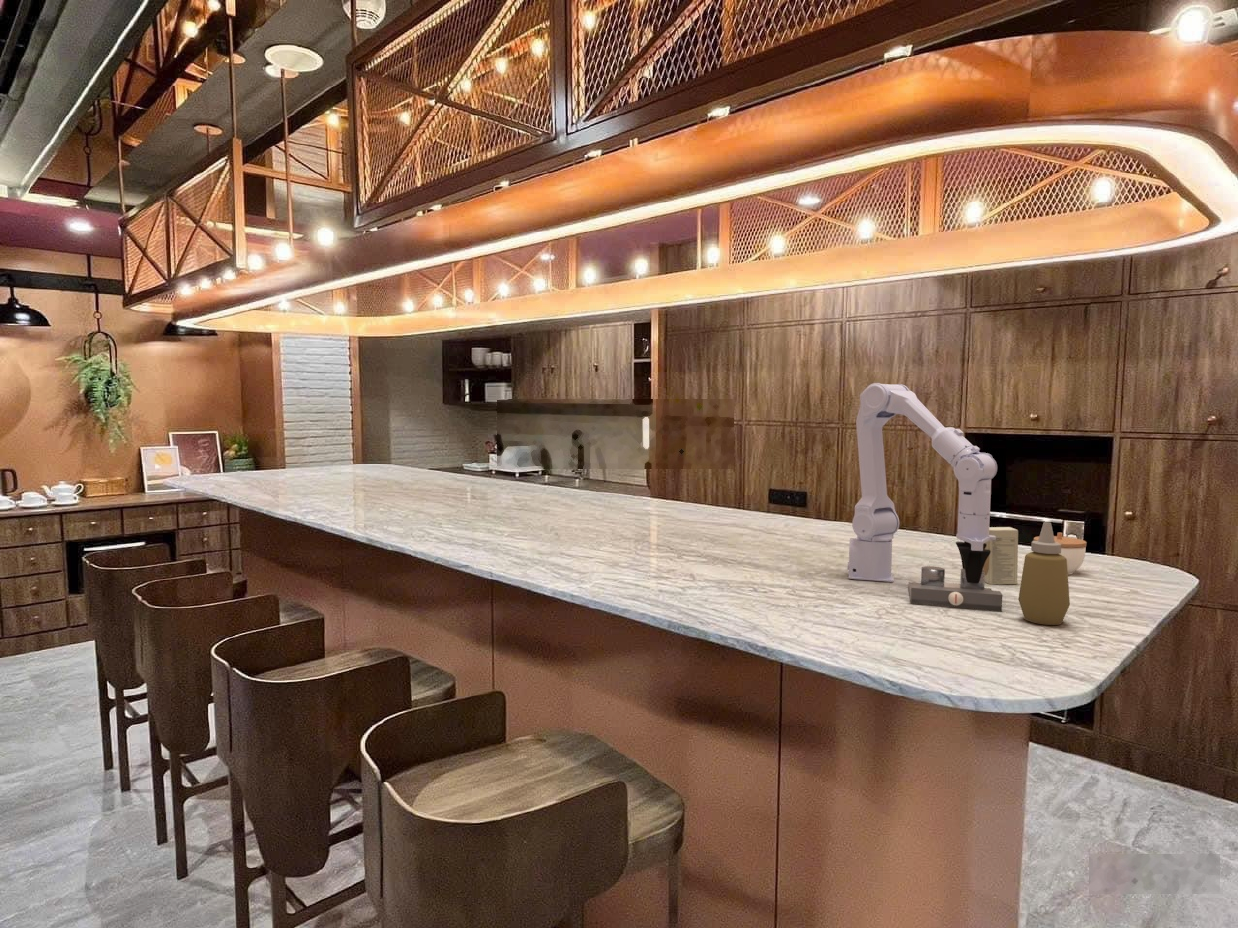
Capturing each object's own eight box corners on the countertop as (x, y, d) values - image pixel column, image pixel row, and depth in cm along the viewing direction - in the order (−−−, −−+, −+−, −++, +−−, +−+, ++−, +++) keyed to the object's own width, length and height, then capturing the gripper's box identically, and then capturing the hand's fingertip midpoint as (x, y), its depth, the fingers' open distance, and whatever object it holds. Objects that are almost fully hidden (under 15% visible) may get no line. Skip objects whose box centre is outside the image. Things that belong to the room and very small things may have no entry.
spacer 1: (921, 589, 147) (922, 569, 147) (920, 584, 151) (921, 565, 151) (945, 591, 145) (945, 571, 145) (943, 586, 150) (943, 567, 149)
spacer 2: (961, 591, 144) (962, 572, 144) (958, 586, 148) (959, 567, 148) (985, 593, 143) (986, 573, 143) (982, 588, 147) (983, 568, 147)
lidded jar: (1022, 567, 176) (1023, 529, 175) (1062, 566, 177) (1064, 528, 176) (1053, 577, 165) (1055, 537, 164) (1096, 576, 166) (1098, 536, 165)
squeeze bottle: (1025, 612, 136) (1029, 517, 134) (1074, 621, 130) (1079, 522, 129) (1011, 621, 130) (1015, 522, 129) (1062, 630, 124) (1066, 527, 123)
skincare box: (1009, 580, 162) (1011, 526, 161) (1017, 584, 158) (1020, 529, 157) (979, 579, 162) (981, 526, 162) (987, 584, 158) (989, 529, 157)
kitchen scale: (910, 604, 141) (911, 588, 141) (908, 586, 156) (908, 572, 156) (1002, 612, 136) (1002, 595, 136) (990, 593, 150) (991, 577, 150)
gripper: (1001, 519, 136) (999, 589, 137) (991, 509, 150) (988, 573, 151) (960, 517, 139) (958, 586, 140) (953, 508, 152) (951, 571, 153)
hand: (971, 579), depth 146 cm, fingers closed on spacer 2, 4 cm apart
